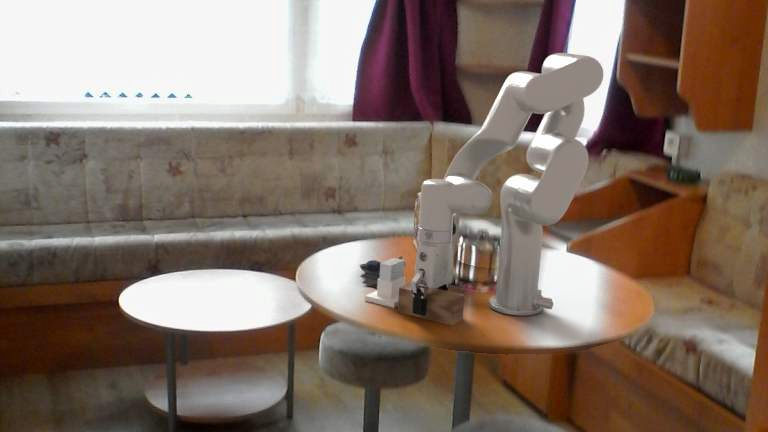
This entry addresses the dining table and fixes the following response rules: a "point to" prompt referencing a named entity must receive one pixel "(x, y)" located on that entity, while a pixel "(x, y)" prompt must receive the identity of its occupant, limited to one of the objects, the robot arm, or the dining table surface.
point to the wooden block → (434, 305)
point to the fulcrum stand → (388, 283)
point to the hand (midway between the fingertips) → (430, 308)
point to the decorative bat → (371, 272)
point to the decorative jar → (416, 223)
